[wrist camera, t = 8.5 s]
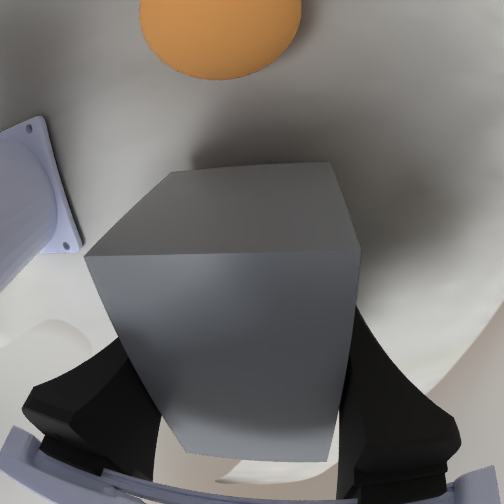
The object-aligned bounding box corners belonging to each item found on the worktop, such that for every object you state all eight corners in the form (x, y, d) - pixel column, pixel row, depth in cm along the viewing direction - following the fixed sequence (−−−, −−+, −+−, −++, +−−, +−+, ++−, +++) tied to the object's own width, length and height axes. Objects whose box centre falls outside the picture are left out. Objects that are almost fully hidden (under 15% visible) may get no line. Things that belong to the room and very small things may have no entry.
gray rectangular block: (214, 353, 18) (186, 452, 12) (171, 172, 12) (83, 256, 7) (324, 354, 17) (326, 461, 11) (330, 162, 11) (361, 249, 6)
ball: (120, -59, 5) (175, 7, 10) (100, 62, 6) (175, 109, 11) (283, -97, 5) (295, -12, 9) (312, 19, 5) (311, 92, 10)
